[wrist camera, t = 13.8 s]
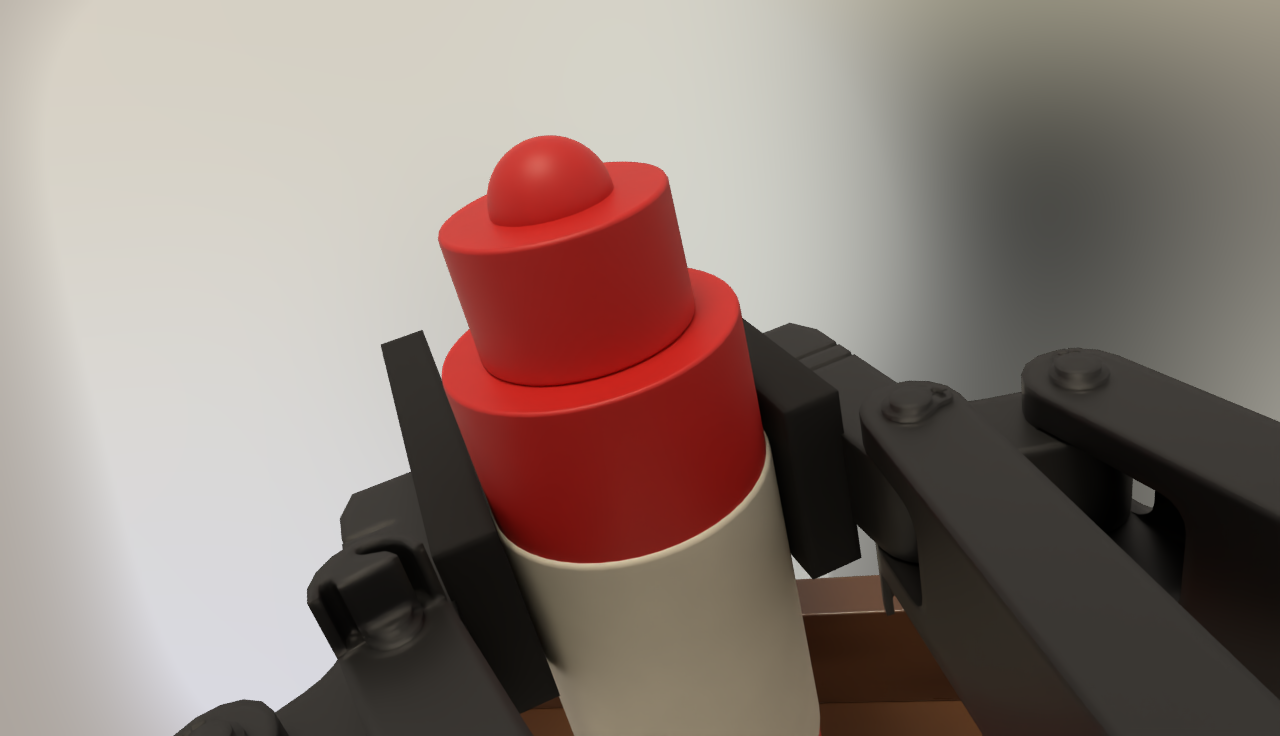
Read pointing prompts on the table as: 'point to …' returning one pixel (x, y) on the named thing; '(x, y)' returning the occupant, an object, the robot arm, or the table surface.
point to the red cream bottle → (624, 452)
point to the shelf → (852, 669)
